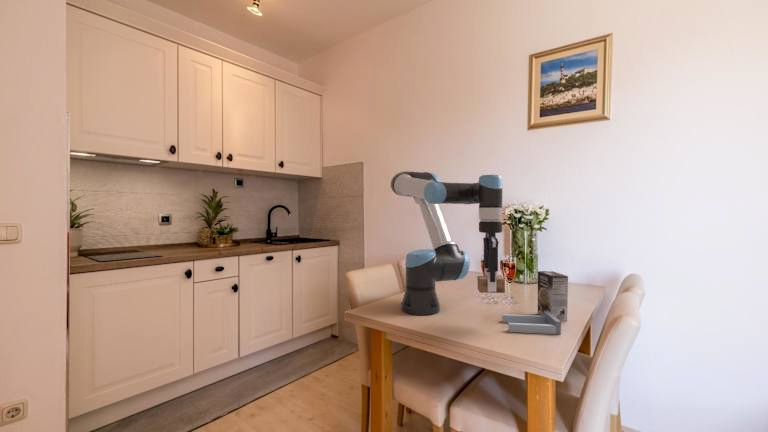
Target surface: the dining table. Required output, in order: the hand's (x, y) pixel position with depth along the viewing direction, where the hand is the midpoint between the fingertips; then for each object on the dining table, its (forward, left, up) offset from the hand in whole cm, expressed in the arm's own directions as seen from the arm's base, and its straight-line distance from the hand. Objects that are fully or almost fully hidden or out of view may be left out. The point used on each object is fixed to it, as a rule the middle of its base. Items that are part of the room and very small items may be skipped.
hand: (490, 289), depth 110 cm
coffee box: (+24, +12, -13) cm, 30 cm away
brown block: (0, 0, -1) cm, 1 cm away
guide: (+12, 0, -12) cm, 17 cm away
